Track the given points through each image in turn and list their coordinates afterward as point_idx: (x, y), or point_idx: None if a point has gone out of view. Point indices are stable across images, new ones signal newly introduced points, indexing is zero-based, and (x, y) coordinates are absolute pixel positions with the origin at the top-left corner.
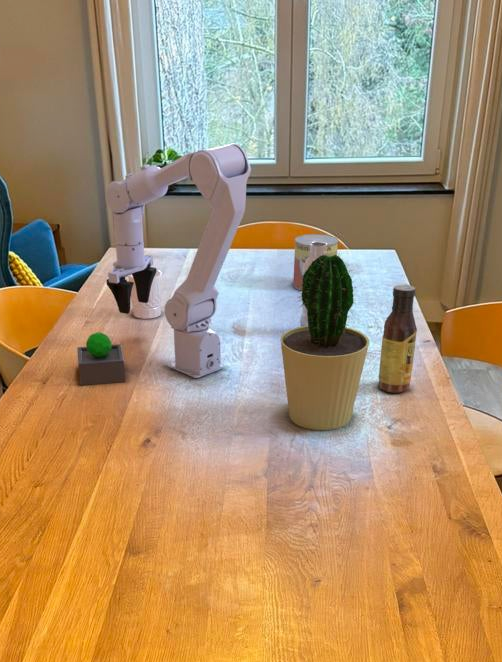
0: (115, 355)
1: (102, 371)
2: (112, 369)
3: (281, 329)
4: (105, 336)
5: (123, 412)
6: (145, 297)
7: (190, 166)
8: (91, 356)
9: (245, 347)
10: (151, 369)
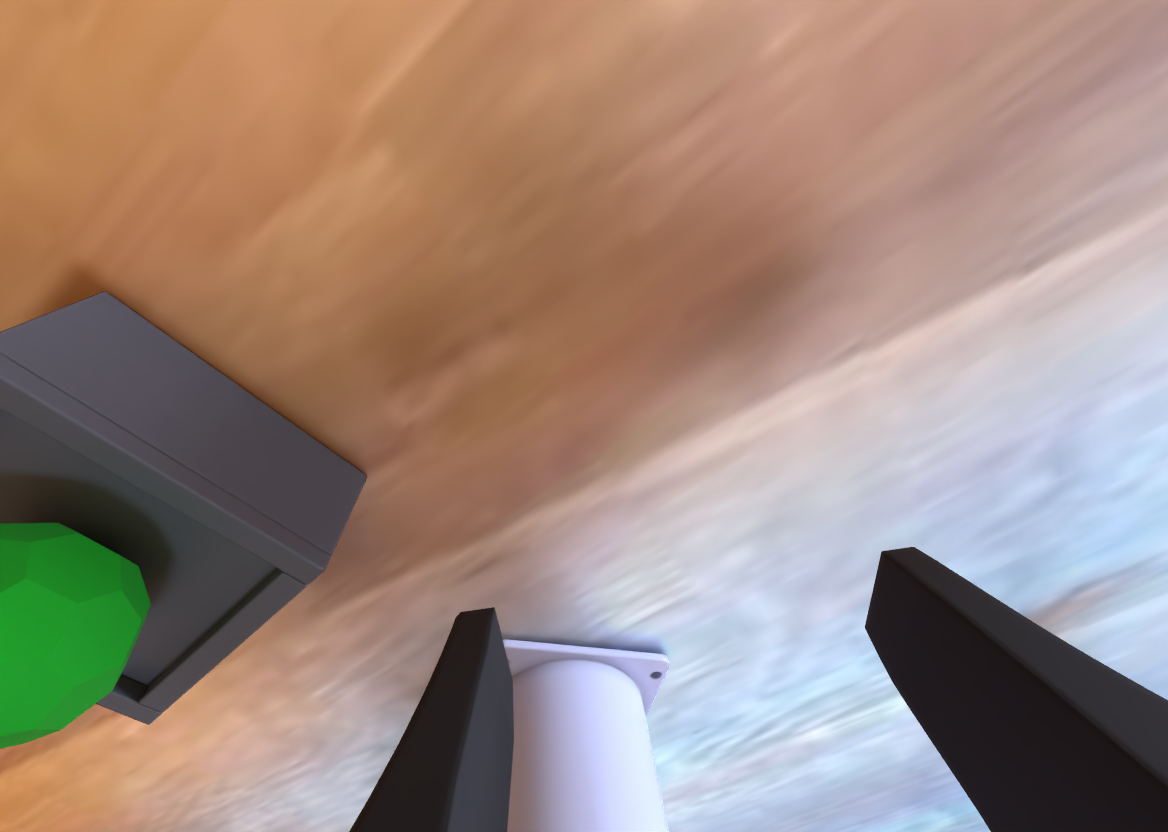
0: (193, 615)
1: None
2: None
3: None
4: (9, 739)
5: (14, 759)
6: (906, 674)
7: None
8: (23, 516)
9: (847, 721)
10: (428, 607)
